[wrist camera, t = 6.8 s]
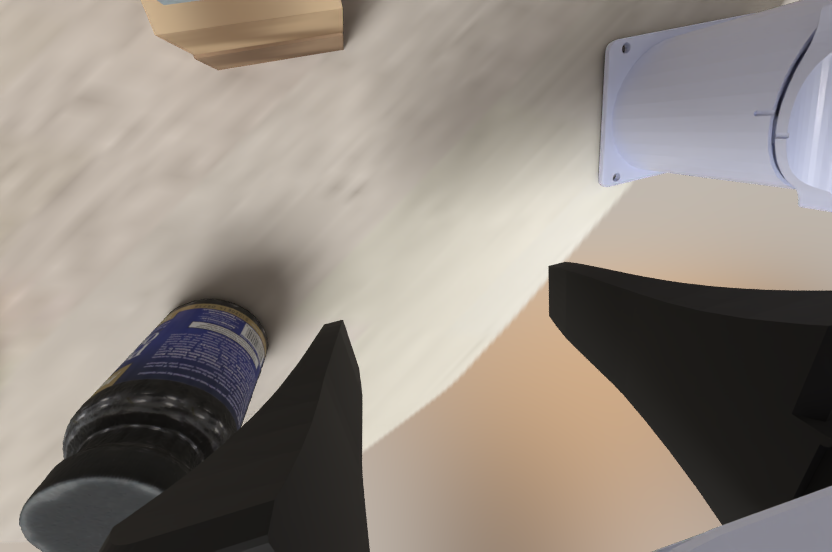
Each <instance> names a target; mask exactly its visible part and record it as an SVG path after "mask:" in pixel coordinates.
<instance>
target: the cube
mask: <svg viewBox="0 0 832 552" xmlns="http://www.w3.org/2000/svg"><path fill="white" fill-rule="evenodd" d="M157 1H159V2H160V3H161V4H163V5H169V4H177V3H184V2H191V1H199V0H157Z"/></svg>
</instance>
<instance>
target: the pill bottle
mask: <svg viewBox="0 0 832 552" xmlns="http://www.w3.org/2000/svg"><path fill="white" fill-rule="evenodd" d="M267 348H268V342H267V337H266V334H265V331H264V329H263V327H262V325H261V324H260V322H259V321H258V320H257V319H256V317H255V316H254V315H252V314H251V313H250V312H249V311H247V310H245V309H243V308H242V307H240V306H237V305H236V304H234V303H230V302H226V301H221V300H214V299H207V300H198V301H193V302H190V303H187V304H185V305H183V306H180V307H178V308H176V309H174V310H173V311H171V312H170V313H169V315H168V316H167V317H166V318H165V319H164V320H163V321H162V322H161V323H160V324H159V325H158V326H157V327H156V328H155V329H154V330H153V332H152V333H151V334H150V335H149V336H148V337H147V338H146V339H145V340H144V341H143V342H142V343H141V344H140V345H139V346H138V347H137V348H136V350H135V351H134V352H133V353H132V354H131V355H130V356H129V357H128V358H127V359H126V360H125V361H124V362H123V363H122V364H121V365H120V367H119V368H118V369H117V370H116V371H115V372H114V373H113V374H112V375H111V376H110V377H109V378H108V379H107V380H106V382H105V383H104V384H103V385H102V386H101V387H100V388H99V389H98V390H97V391H96V392H95V393H94V394H93V395H92V396H91V398H90V399H88V400H87V401H86V402H85V403H84V404H83V405H82V406H81V408H80V409H79V410H78V411H77V412H76V414H75V415H74V416H73V418H72V419H71V420H70V423H69V425H68V426H67V429H66V432H65V435H64V440H63V454H64V456H63V457H64V460H63V461H62V462H60V463H59V464H58V465H56V466H55V467H54V469H53V470H52V471H51V472H50V473H49V474H48V476H47V477H46V479H45V480H44V481H43V482H42V483H41V485H40V486H39V487H38V488H37V489H36V490H35V491H34V493H33V494H32V495H31V496H30V498H29V499H28V500H27V502H26V503H25V505H24V506H23V509H22V511H21V514H20V518H19V525H20V526H21V530H22V532H23V534H24V536H25V538H26V539H27V540H28V541H29V542H30V543H31V544H32V545H34V546H35V547H36V548H38V549H40V550H41V551H42V552H99V550H100V548H101V546H102V545H103V543H104V541H105V540H106V538H107V536H108V535H109V533H110V531H111V530H112V528H113V527H114V526H115V525H117V524H118V523H120V522H121V521H123V520H124V519H126V518H127V517H128V516H130V515H131V514H133V513H134V512H135V511H137V510H138V509H140V508H141V507H142V506H144V505H145V504H147V503H148V502H149V501H151V500H152V499H154V498H155V497H156V496H158V495H159V494H161V493H162V492H164V491H165V490H166V489H168V488H169V487H170V486H172V485H173V484H174V483H176V482H177V481H178V480H180V479H181V478H182V477H184V476H185V475H186V474H187V473H189V472H190V471H191V470H192V469H194V468H195V467H196V466H198V465H199V464H200V463H201V462H203V461H204V460H205V459H206V458H207V457H209V456H210V455H211V454H212V453H213V452H215V451H216V450H217V449H218V448H219V447H220V446H222V445H223V444H224V443H225V442H226V441H227V440H228V439H229V438H230V437H231V436H232V435H234V434H235V433H236V432H237V431H238V430H239V429H240V428H241V426H242V423H243V420H244V417H245V414H246V412H247V409H248V406H249V403H250V401H251V398H252V394H253V391H254V389H255V386H256V383H257V380H258V378H259V376H260V373H261V368H262V367H263V363H264V360H265V357H266V353H267Z"/></svg>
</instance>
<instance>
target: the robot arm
mask: <svg viewBox="0 0 832 552" xmlns="http://www.w3.org/2000/svg"><path fill="white" fill-rule="evenodd" d="M623 45H624V46H625V52H624V53H623V52H622V47H623ZM664 173H674V174H682V175H689V176H698V177H704V178H712V179H720V180H728V181H735V182H743V183H751V184H758V185H766V186H774V187H782V188H789V189H796V191H797V193H798V198H799V200H798V205H799V207H804V208H810V209H816V210H822V211H828V212H832V0H800V1H797V2H793V3H790V4H786V5H783V6H779V7H776V8H772V9H769V10H765V11H762V12H758V13H751V14H746V15H740V16H735V17H730V18H725V19H720V20H715V21H709V22H704V23H699V24H694V25H689V26H684V27H678V28H673V29H668V30H663V31H658V32H652V33H647V34H642V35H637V36H632V37H627V38H621V39H617V40H614V41H612V42H610V43H609V44H608V46H607V48H606V52H605V67H604V87H603V106H602V125H601V144H600V164H599V184H600V185H601V186H604V187H610V186H614V185H618V184H622V183H626V182H630V181H635V180H639V179H643V178H647V177H651V176H655V175H660V174H664ZM615 174H616V177H615V179H614V180H613V176H614V175H615ZM549 316H550V318H551V319H552V320H553V322H554V323H555V324H556V326H557V327H558V328H559V330H560V331H561V332H562V334H563V335H564V336H565V337H566V338H567V339H568V341H570V342H571V344H573V346H574V347H575V348H576V349H578V350H579V351H580V352H581V353H582V354H583V355H584V356H585V357H586V358H587V359H588V360H589V361H590V362H591V363H592V364H593V365H594V366H595V367H596V368H597V369H598V370H599V371H600V372H601V373H602V374H603V375H604V376H605V377H606V378H607V379H608V380H609V381H611V382H612V383H613V384H614V385H615V387H616V388H618V390H619V391H620V392H621V393H622V394H623V395H624V396H625V397H626V398H627V400H628V401H629V402H630V403H631V404H632V405H633V406H634V408H635V409H636V410H637V411H638V413H639V414H640V415H641V416H642V417H643V418H644V420H645V421H646V422H647V423H648V425H649V426H650V427H651V428H652V429H653V431H654V432H655V433H656V435H657V436H658V437H659V438H660V440H661V441H662V442H663V444H664V445H665V446H666V447H667V449H668V450H669V451H670V452H671V454H672V455H673V457H674V458H675V459H676V461H677V462H678V463H679V465H680V466H681V467H682V469H683V470H684V471H685V473H686V474H687V475H688V477H689V478H690V479H691V481H692V482H693V484H694V485H695V486H696V487H697V489H698V491H699V492H700V493H701V495H702V496H703V498H704V499H705V500H706V502H707V504H708V505H709V506H710V508H711V509H712V511H713V512H714V514H715V515H716V517H717V518H718V519H719V521H720V522H721V524H722V526H719V527H716V528H714V529H711V530H709V531H707V532H705V533H702V534H699V535H696V536H694V537H691V538H688V539H685V540H683V541H680V542H677V543H674V544H671V545H669V546H666V547H663V548H660V549H658V550H655V551H652V552H832V291H789V290H759V289H741V288H740V289H739V288H726V287H713V286H705V285H696V284H687V283H679V282H672V281H666V280H660V279H654V278H649V277H643V276H638V275H633V274H628V273H623V272H618V271H613V270H609V269H603V268H599V267H594V266H589V265H584V264H578V263H571V262H563V263H559V264H555V265H551V266H549ZM362 477H363V476H362V388H361V380H360V372H359V367H358V364H357V361H356V358H355V355H354V352H353V349H352V346H351V343H350V340H349V337H348V334H347V331H346V328H345V325H344V322H343V320H340V321H336V322H332V323H328V324H325V325H324V326H323V327H322V329H321V330H320V332H319V333H318V335H317V336H316V338H315V339H314V341H313V342H312V344H311V345H310V347H309V348H308V350H307V351H306V353H305V354H304V356H303V357H302V359H301V360H300V361H299V363H298V364H297V366H296V367H295V368H294V369H293V371H292V372H291V373H290V375H289V376H288V377H287V378H286V380H285V381H284V382H283V384H282V385H281V386H280V387H279V389H278V390H277V391H276V392H275V393H274V394H273V395H272V397H271V398H270V399H269V400H268V401H267V402H266V403H265V404H264V405H263V406H262V407H261V408H260V410H259V411H258V412H257V413H256V414H255V415H254V416H253V417H252V418H251V419H250V420H249V421H248V422H246V423H245V424H244V425H243V426H242V427H241V428H240V429H239V430H238V431H237V432H236V433H235V434H234V435H232V436H231V437H230V438H229V439H228V440H227V441H226V442H225V443H224V444H223V445H222V446H220V447H219V448H218V449H217V450H216V451H215V452H213V453H212V454H211V455H210V456H209V457H207V458H206V459H205V460H204V461H203V462H201V463H200V464H199V465H198V466H196V467H195V468H194V469H192V470H191V471H190V472H189V473H187V474H186V475H185V476H184V477H182V478H181V479H180V480H178V481H177V482H176V483H174V484H173V485H172V486H170V487H169V488H168V489H166V490H165V491H164V492H162V493H161V494H159V495H158V496H156V497H155V498H154V499H152V500H151V501H149V502H148V503H147V504H145V505H144V506H142V507H141V508H140V509H138V510H137V511H135V512H134V513H133V514H131V515H130V516H128V517H127V518H126V519H124V520H123V521H121V522H120V523H118V524H117V525H115V526H114V527H113V528H112V530H111V531H110V533H109V535H108V536H107V538H106V540H105V541H104V543H103V545H102V546H101V548H100V550H99V552H370V549H369V539H368V530H367V519H366V509H365V499H364V488H363V478H362Z"/></svg>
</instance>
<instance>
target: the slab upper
mask: <svg viewBox="0 0 832 552" xmlns="http://www.w3.org/2000/svg"><path fill="white" fill-rule="evenodd" d="M141 2H142V5H143V7H144V10H145V12H146V14H147V17H148V19H149V22H150V24H151V26H152V29H153V31H154V34H155V35H156V36H158V37H160V38H162V39H164V40H166V41H167V42H169V43H171V44H173V45H175V46H177V47H179V48H181V49H183V50H185V51H187V52H189V53H191V54H193V55H197V54H204V53H210V52H217V51H223V50H230V49H237V48H243V47H250V46H256V45H263V44H270V43H276V42H283V41H289V40H296V39H303V38H309V37H316V36H322V35H329V34H335V33H342V32H343V8H342V3H341V0H199V1H191V2H184V3H177V4H169V5H163V4H161V3H160V2H159V1H157V0H141Z"/></svg>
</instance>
